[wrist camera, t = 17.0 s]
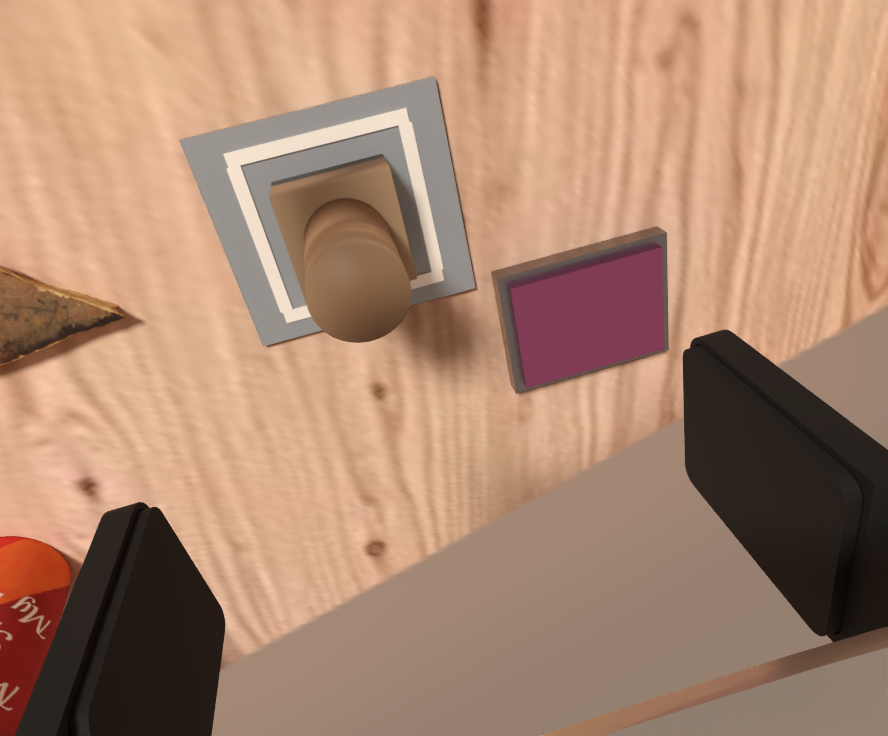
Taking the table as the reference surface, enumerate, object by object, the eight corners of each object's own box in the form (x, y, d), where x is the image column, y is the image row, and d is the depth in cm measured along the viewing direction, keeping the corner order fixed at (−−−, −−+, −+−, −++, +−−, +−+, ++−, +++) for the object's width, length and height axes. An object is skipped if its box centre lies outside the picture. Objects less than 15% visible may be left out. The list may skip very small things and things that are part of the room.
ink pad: (657, 226, 33) (671, 235, 32) (659, 341, 36) (673, 353, 35) (491, 272, 32) (499, 282, 31) (511, 384, 36) (518, 398, 35)
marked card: (433, 76, 27) (435, 77, 27) (474, 285, 32) (476, 288, 32) (180, 139, 26) (179, 141, 26) (263, 343, 32) (262, 347, 31)
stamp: (381, 153, 28) (413, 206, 21) (407, 257, 31) (444, 338, 23) (271, 182, 28) (262, 246, 20) (306, 284, 30) (310, 375, 23)
